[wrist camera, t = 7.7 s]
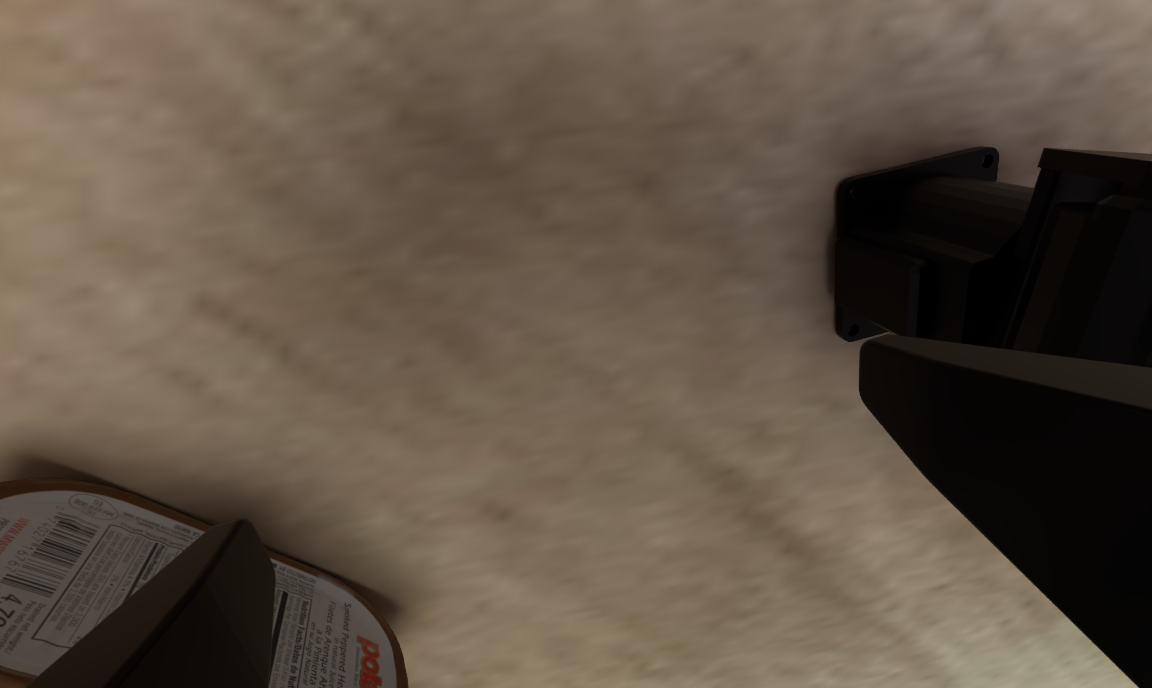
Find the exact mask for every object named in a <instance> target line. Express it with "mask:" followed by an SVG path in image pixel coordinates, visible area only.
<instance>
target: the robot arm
mask: <svg viewBox="0 0 1152 688" xmlns="http://www.w3.org/2000/svg"><path fill="white" fill-rule="evenodd" d="M983 158H985V159H984V162H983V164H982V159H983ZM998 162H999V153H998V151H997V150H996V149H995V148H992V147H976V148H972V149H968V150H964V151H959V152H955V153H951V154H947V155H943V156H938V157H934V158H930V159H926V160H922V161H917V162H913V163H909V164H905V165H900V166H896V167H892V168H888V169H884V170H879V171H875V172H871V173H867V174H863V175H858V176H854V177H850V178H848V179H845V180H844V181H843V182H842V183H841V184H840V186H839V188H838V192H837V241H836V243H835V302H836V332H837V335H838V336H839V337H840V338H842V339H844V340H846V341H848V342H853V341H857V340H861V339H864V338H868V337H871V336H875V335H878V334H882V333H885V332H891V333H893V334H895V335H884V336H881V337H877V338H874V339H870V340H867V341H865V342H864V343H863V344H862V346H861V348H860V357H859V393H860V396H861V399H862V401H863V403H864V404H865V406H866V407H867V408H868V410H869V411H870V412H871V413H872V414H873V416H874V417H875V418H876V419H877V420H878V422H879V423H880V424H881V425H882V426H883V428H884V429H885V430H886V431H887V432H888V434H889V435H890V436H891V437H892V438H893V440H894V441H895V442H896V443H897V444H898V446H899V447H900V448H901V449H902V450H903V452H904V453H905V454H906V455H907V456H908V458H909V459H910V460H911V461H912V462H913V464H914V465H915V466H916V467H917V468H918V469H919V471H920V472H921V473H922V474H923V475H924V476H925V477H926V478H927V479H928V480H929V482H930V483H931V484H932V485H933V486H934V487H935V488H936V489H937V490H938V491H939V492H940V493H941V494H942V495H943V496H944V497H945V498H946V499H947V500H948V501H949V502H950V503H951V504H952V505H953V506H954V507H955V508H957V509H958V510H959V511H960V512H961V513H962V514H963V515H964V516H965V517H966V518H967V519H968V520H969V521H970V522H971V523H972V524H973V525H974V526H975V527H976V528H977V529H978V530H979V531H980V532H981V533H982V534H983V535H984V536H985V537H986V538H987V539H988V540H989V541H990V542H991V543H992V544H993V545H994V546H995V547H996V548H997V549H998V550H999V551H1000V552H1001V553H1002V554H1003V555H1004V556H1005V557H1006V558H1007V559H1008V560H1009V561H1010V562H1011V563H1012V564H1013V565H1014V566H1015V567H1016V568H1018V569H1019V570H1020V571H1021V572H1022V573H1023V574H1024V575H1025V576H1026V577H1027V578H1028V579H1029V580H1030V581H1031V582H1032V583H1033V584H1034V585H1035V586H1036V587H1037V588H1038V589H1039V590H1040V591H1041V592H1042V593H1043V594H1044V595H1045V596H1046V597H1047V598H1048V599H1049V600H1050V601H1051V602H1052V603H1053V604H1054V605H1055V606H1056V607H1057V608H1058V609H1059V610H1060V611H1061V612H1062V613H1063V614H1064V615H1065V616H1066V617H1067V618H1068V619H1069V620H1070V621H1071V622H1072V623H1073V624H1074V625H1075V626H1076V627H1077V628H1079V629H1080V630H1081V631H1082V632H1083V633H1084V634H1085V635H1086V636H1087V637H1088V638H1089V639H1090V640H1091V641H1092V642H1093V643H1094V644H1095V645H1096V646H1097V647H1098V648H1099V649H1100V650H1101V651H1102V652H1103V653H1104V654H1105V655H1106V656H1107V657H1108V658H1109V659H1110V660H1111V661H1112V662H1113V663H1114V664H1115V665H1116V666H1117V667H1118V668H1119V669H1120V670H1121V671H1122V672H1123V673H1124V674H1125V675H1126V676H1127V677H1128V678H1129V679H1130V680H1131V681H1132V682H1133V683H1134V684H1135V685H1136V686H1137V687H1138V688H1152V154H1144V153H1127V152H1109V151H1092V150H1075V149H1057V148H1044V149H1043V152H1042V155H1041V158H1040V161H1039V164H1038V167H1040V168H1041V170H1040V173H1039V176H1038V179H1037V182H1036V185H1035V188H1030V187H1024V186H1018V185H1012V184H1006V183H1001V182H996V180H997V171H998ZM853 187H855V189H856V190H855V194H854V195H853V196H852V197H850V192H851V190H852V188H853ZM852 325H853V327H852V329H851V330H850V331H849V332H848V329H849V328H850V326H852ZM275 586H276V576H275V570H274V566H273V563H272V561H271V559H270V557H269V555H268V553H267V551H266V549H265V547H264V545H263V543H262V541H261V539H260V537H259V535H258V534H257V532H256V530H255V528H254V526H253V524H252V523H251V522H250V521H249V520H248V519H245V518H238V519H235V520H231V521H228V522H224V523H221V524H217V525H214V526H212V527H211V528H209V529H208V530H207V531H206V532H205V533H203V534H202V535H201V536H200V537H199V538H198V539H196V540H195V541H194V542H193V543H192V544H191V545H189V546H188V547H187V548H186V549H185V550H184V551H182V552H181V553H180V554H179V555H178V556H177V557H175V558H174V559H173V560H172V561H171V562H170V563H169V564H167V565H166V566H165V567H164V568H163V569H162V570H160V571H159V572H158V573H157V574H156V575H155V576H153V577H152V578H151V579H150V580H149V581H148V582H146V583H145V584H144V585H143V586H142V587H141V588H140V589H138V590H137V591H136V592H135V593H134V594H133V595H131V596H130V597H129V598H128V599H127V600H126V601H124V602H123V603H122V604H121V605H120V606H119V607H117V608H116V609H115V610H114V611H113V612H112V613H111V614H109V615H108V616H107V617H106V618H105V619H104V620H102V621H101V622H100V623H99V624H98V625H97V626H95V627H94V628H93V629H92V630H91V631H90V632H88V633H87V634H86V635H85V636H84V637H83V638H82V639H80V640H79V641H78V642H77V643H76V644H75V645H73V646H72V647H71V648H70V649H69V650H68V651H66V652H65V653H64V654H63V655H62V656H61V657H59V658H58V659H57V660H56V661H55V662H54V663H52V664H51V665H50V666H49V667H48V668H47V669H46V670H44V671H43V672H42V673H41V674H40V675H39V676H37V677H36V678H35V679H34V680H33V681H32V682H30V683H29V684H28V685H27V686H26V687H25V688H268V686H269V676H270V662H271V647H272V632H273V617H274V601H275Z"/></svg>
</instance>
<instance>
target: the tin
mask: <svg viewBox="0 0 1152 688" xmlns="http://www.w3.org/2000/svg"><path fill="white" fill-rule="evenodd" d="M211 527H212V526H210V525H208V524H206V523H203V522H201V521H198V520H196V519H193V518H191V517H189V516H186V515H184V514H181V513H179V512H176V511H174V510H172V509H169V508H167V507H164V506H162V505H160V504H157V503H155V502H152V501H150V500H147V499H145V498H143V497H140V496H138V495H135V494H132V493H129V492H126V491H123V490H120V489H117V488H113V487H110V486H105V485H101V484H96V483H90V482H85V481H78V480H69V479H59V478H38V479H23V480H14V481H7V482H1V483H0V688H25V687H26V686H27V685H28V684H29V683H30V682H32V681H33V680H34V679H35V678H36V677H37V676H39V675H40V674H41V673H42V672H43V671H44V670H46V669H47V668H48V667H49V666H50V665H51V664H52V663H54V662H55V661H56V660H57V659H58V658H59V657H61V656H62V655H63V654H64V653H65V652H66V651H68V650H69V649H70V648H71V647H72V646H73V645H75V644H76V643H77V642H78V641H79V640H80V639H82V638H83V637H84V636H85V635H86V634H87V633H88V632H90V631H91V630H92V629H93V628H94V627H95V626H97V625H98V624H99V623H100V622H101V621H102V620H104V619H105V618H106V617H107V616H108V615H109V614H111V613H112V612H113V611H114V610H115V609H116V608H117V607H119V606H120V605H121V604H122V603H123V602H124V601H126V600H127V599H128V598H129V597H130V596H131V595H133V594H134V593H135V592H136V591H137V590H138V589H140V588H141V587H142V586H143V585H144V584H145V583H146V582H148V581H149V580H150V579H151V578H152V577H153V576H155V575H156V574H157V573H158V572H159V571H160V570H162V569H163V568H164V567H165V566H166V565H167V564H169V563H170V562H171V561H172V560H173V559H174V558H175V557H177V556H178V555H179V554H180V553H181V552H182V551H184V550H185V549H186V548H187V547H188V546H189V545H191V544H192V543H193V542H194V541H195V540H196V539H198V538H199V537H200V536H201V535H202V534H203V533H205V532H206V531H207V530H208V529H209V528H211ZM265 549H266V548H265ZM266 551H267V553H268V555H269V557H270V559H271V561H272V563H273V566H274V570H275V576H276V586H275V601H274V617H273V632H272V647H271V662H270V676H269V686H268V688H408V678H407V674H406V669H405V663H404V658H403V654H402V651H401V648H400V644H399V642H398V640H397V638H396V636H395V634H394V633H393V631H392V630H391V628H390V627H389V625H388V624H387V623H386V621H385V620H384V618H383V617H382V616H381V615H380V614H379V613H378V611H377V610H376V609H375V608H374V607H373V606H372V605H371V604H370V603H369V602H368V601H367V600H366V599H365V598H363V597H362V596H361V595H360V594H359V593H357V592H356V591H355V590H353V589H352V588H351V587H349V586H348V585H346V584H345V583H343V582H342V581H340V580H338V579H336V578H334V577H332V576H330V575H328V574H326V573H324V572H322V571H319V570H317V569H315V568H312V567H310V566H307V565H305V564H302V563H300V562H298V561H295V560H293V559H290V558H288V557H286V556H283V555H281V554H278V553H276V552H273V551H271V550H269V549H266Z"/></svg>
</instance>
